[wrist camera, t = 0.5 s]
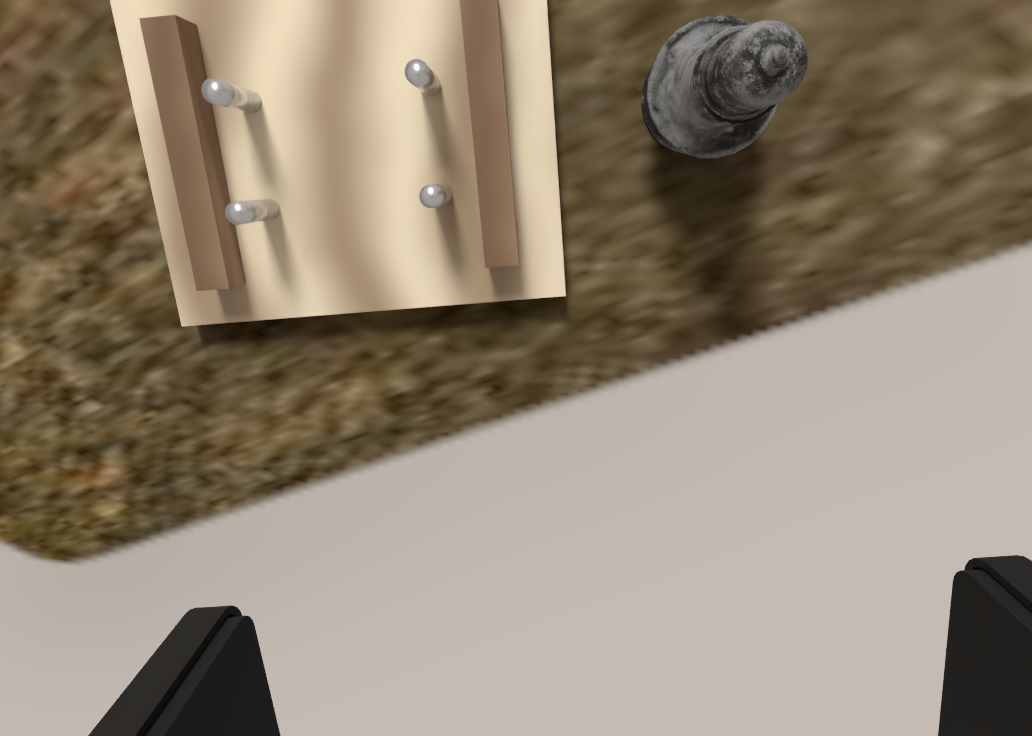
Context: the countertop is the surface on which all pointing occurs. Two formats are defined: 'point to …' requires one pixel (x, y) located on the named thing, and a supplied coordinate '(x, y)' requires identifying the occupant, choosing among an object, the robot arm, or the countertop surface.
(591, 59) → the countertop surface
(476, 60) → the pin stand
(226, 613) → the robot arm
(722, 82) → the weathered chess pawn
